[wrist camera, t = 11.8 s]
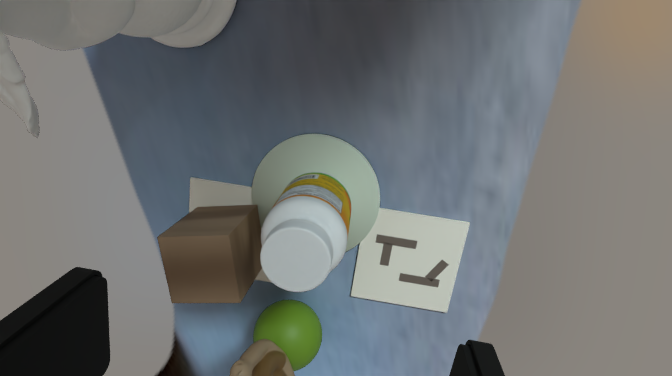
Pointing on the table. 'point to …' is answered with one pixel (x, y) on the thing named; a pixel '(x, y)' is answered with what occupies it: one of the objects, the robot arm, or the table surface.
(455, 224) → the code tile
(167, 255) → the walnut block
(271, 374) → the snail figurine
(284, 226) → the supplement bottle
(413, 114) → the table surface
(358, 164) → the felt coaster
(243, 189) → the code tile
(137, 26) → the cherub figurine
